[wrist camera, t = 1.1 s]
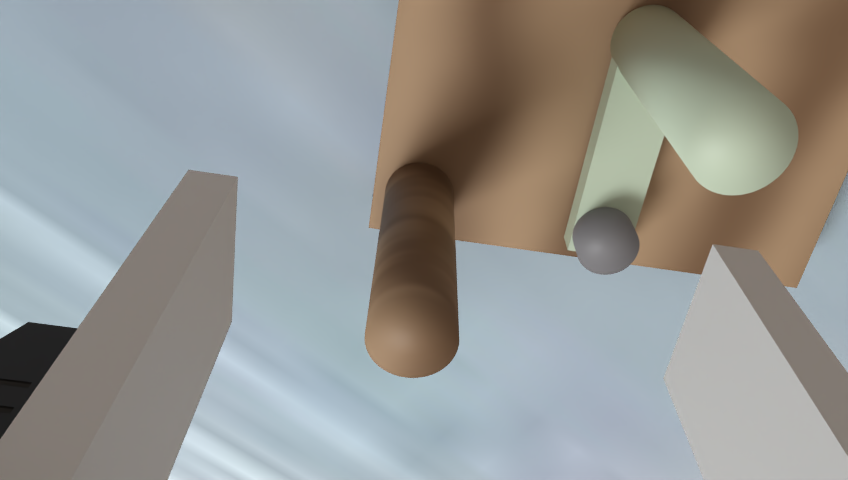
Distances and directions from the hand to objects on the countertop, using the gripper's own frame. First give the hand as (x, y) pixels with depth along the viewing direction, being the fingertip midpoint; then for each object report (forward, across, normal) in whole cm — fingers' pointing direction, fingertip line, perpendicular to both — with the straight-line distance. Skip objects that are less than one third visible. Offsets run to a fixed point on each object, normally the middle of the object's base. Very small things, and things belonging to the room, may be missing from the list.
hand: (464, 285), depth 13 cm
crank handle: (+20, +8, -4) cm, 22 cm away
